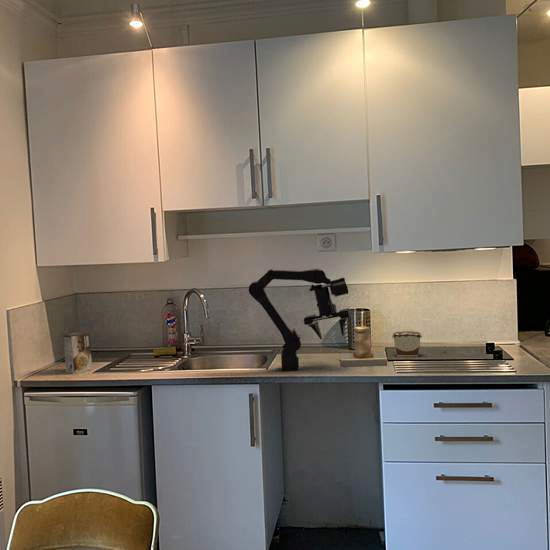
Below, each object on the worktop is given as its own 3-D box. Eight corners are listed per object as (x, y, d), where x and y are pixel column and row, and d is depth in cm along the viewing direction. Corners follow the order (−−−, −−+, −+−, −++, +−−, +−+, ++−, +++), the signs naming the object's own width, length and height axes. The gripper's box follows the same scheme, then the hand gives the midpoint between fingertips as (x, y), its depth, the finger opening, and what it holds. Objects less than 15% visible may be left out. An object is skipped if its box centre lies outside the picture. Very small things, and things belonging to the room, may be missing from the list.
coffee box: (84, 368, 264) (81, 331, 263) (92, 369, 260) (90, 332, 259) (65, 372, 257) (62, 334, 256) (73, 374, 253) (71, 335, 252)
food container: (422, 353, 262) (422, 330, 262) (422, 356, 256) (421, 333, 256) (393, 353, 266) (393, 330, 265) (392, 356, 260) (392, 333, 259)
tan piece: (358, 358, 246) (357, 329, 245) (352, 355, 253) (351, 327, 252) (373, 357, 247) (372, 328, 247) (367, 354, 254) (366, 325, 253)
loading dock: (342, 366, 245) (341, 360, 244) (340, 359, 257) (340, 353, 257) (387, 365, 243) (386, 358, 243) (383, 358, 256) (383, 352, 256)
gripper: (350, 291, 247) (358, 329, 248) (306, 300, 253) (315, 336, 254) (344, 296, 236) (353, 335, 238) (299, 305, 243) (308, 342, 244)
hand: (332, 337), depth 244 cm, fingers open, 9 cm apart
